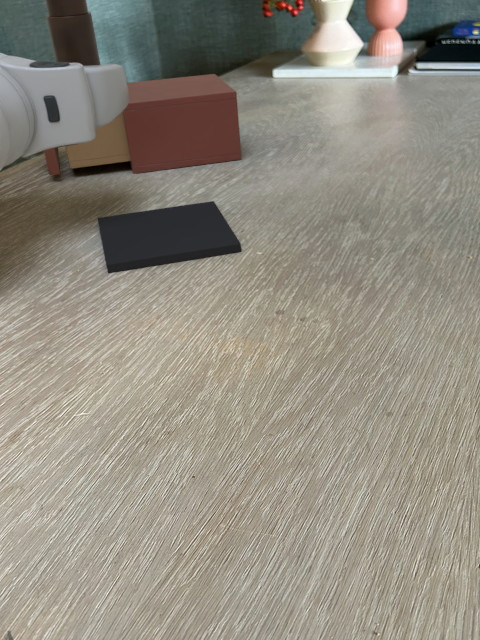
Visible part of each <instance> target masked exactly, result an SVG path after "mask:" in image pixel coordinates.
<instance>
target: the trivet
mask: <svg viewBox="0 0 480 640" xmlns="http://www.w3.org/2000/svg"><path fill="white" fill-rule="evenodd" d="M97 224H98V229H99V234H100V239H101V244H102V249H103V255H104V260H105V265H106V270H107V273H108V274H109V273H111V274H112V273H117V272H123V271H129V270H135V269H141V268H147V267H152V266H154V267H155V266H161V265H165V264H167V265H168V264H173V263H178V262H184V261H190V260H197V259H204V258H209V257H214V256H215V257H217V256H222V255H228V254H233V253H240V252H242V243H241V241H240V240H239V238H238V237H237V235H236V234H235V232H234V231H233V229H232V227H231V226H230V225H229V223H228V221H227V219H226V218H225V216H224V215H223V213H222V212H221V210H220V209H219V207H218V205H217V203H215V201H214V200H212V201H204V202H197V203H190V204H184V205H175V206H170V207H163V208H156V209H150V210H149V209H148V210H142V211H135V212H128V213H120V214H114V215H107V216H100V217H97Z"/></svg>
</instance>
